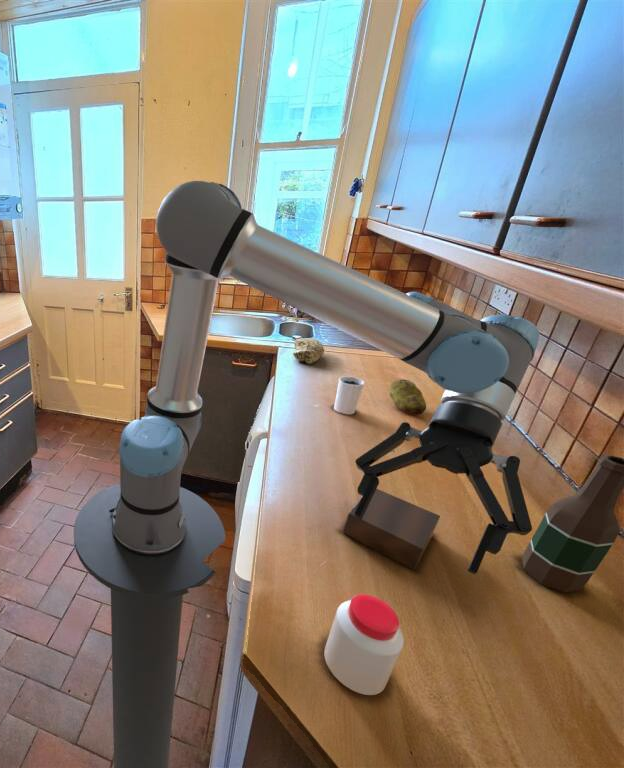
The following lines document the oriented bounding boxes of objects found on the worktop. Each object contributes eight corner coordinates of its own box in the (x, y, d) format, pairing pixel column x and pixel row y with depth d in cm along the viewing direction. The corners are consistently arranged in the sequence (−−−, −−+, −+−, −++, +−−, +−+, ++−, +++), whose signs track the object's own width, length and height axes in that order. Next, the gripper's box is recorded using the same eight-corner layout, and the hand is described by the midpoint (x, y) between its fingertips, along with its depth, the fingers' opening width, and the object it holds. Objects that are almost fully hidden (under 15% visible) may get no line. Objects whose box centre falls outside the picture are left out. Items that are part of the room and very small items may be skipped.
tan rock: (317, 369, 159) (331, 346, 171) (316, 351, 156) (331, 329, 168) (283, 367, 168) (299, 345, 180) (281, 350, 165) (298, 329, 177)
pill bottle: (312, 643, 60) (328, 591, 55) (358, 633, 61) (377, 582, 57) (349, 701, 53) (370, 647, 49) (400, 688, 54) (425, 635, 50)
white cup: (330, 403, 130) (337, 375, 126) (354, 406, 128) (361, 377, 124) (333, 413, 124) (341, 383, 120) (358, 416, 122) (366, 386, 118)
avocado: (392, 414, 123) (400, 391, 120) (383, 397, 134) (390, 374, 130) (425, 419, 120) (433, 395, 117) (413, 401, 131) (420, 378, 128)
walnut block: (342, 532, 80) (348, 513, 78) (365, 504, 87) (370, 486, 85) (414, 570, 72) (422, 549, 70) (432, 535, 79) (440, 515, 77)
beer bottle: (588, 581, 69) (667, 465, 59) (572, 602, 66) (652, 483, 56) (528, 550, 75) (590, 441, 65) (511, 568, 72) (573, 455, 62)
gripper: (585, 456, 54) (526, 602, 51) (377, 396, 71) (323, 503, 68) (605, 436, 48) (539, 598, 46) (374, 377, 65) (315, 492, 63)
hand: (410, 542), depth 57 cm, fingers open, 13 cm apart
